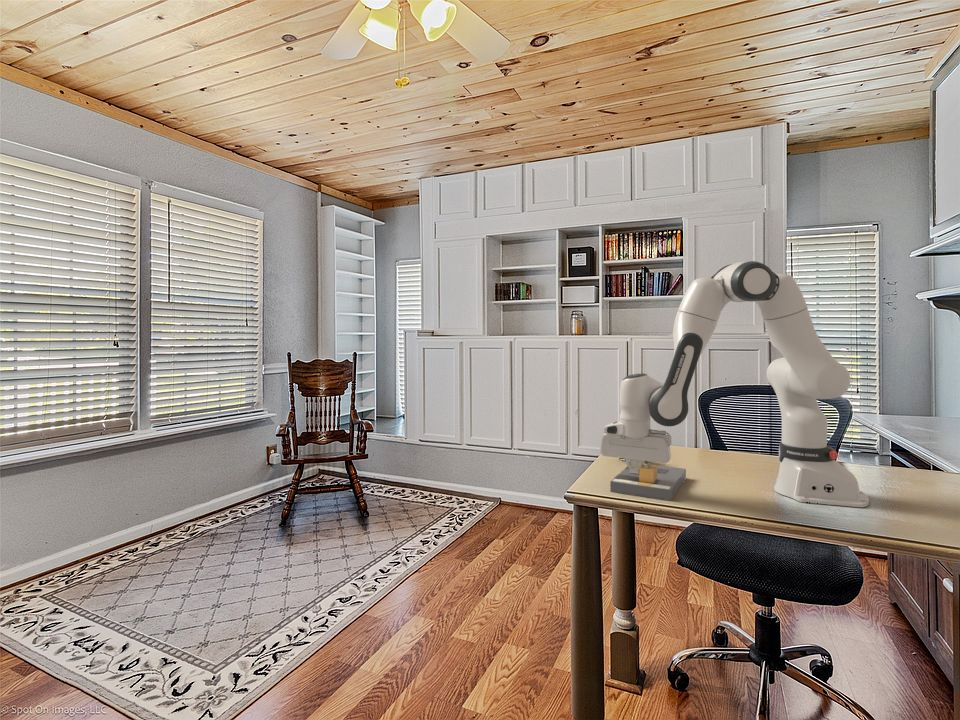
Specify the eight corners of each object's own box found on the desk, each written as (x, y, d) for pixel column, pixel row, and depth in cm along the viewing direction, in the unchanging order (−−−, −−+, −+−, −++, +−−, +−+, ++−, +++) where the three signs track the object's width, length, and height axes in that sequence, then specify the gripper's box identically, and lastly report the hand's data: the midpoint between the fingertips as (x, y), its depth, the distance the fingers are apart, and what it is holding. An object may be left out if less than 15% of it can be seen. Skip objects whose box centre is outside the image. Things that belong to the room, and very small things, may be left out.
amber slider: (657, 478, 156) (657, 463, 156) (653, 483, 152) (653, 467, 151) (643, 476, 158) (643, 461, 158) (639, 481, 154) (639, 465, 153)
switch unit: (685, 478, 167) (686, 467, 166) (670, 500, 146) (670, 489, 146) (632, 471, 175) (632, 461, 175) (610, 491, 155) (610, 480, 155)
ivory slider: (644, 466, 170) (644, 452, 169) (640, 470, 165) (641, 455, 165) (632, 464, 172) (632, 450, 171) (628, 468, 167) (628, 454, 167)
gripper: (673, 429, 153) (673, 475, 154) (604, 423, 164) (605, 467, 165) (669, 433, 148) (668, 481, 149) (598, 427, 159) (598, 472, 159)
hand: (634, 473), depth 157 cm, fingers closed
